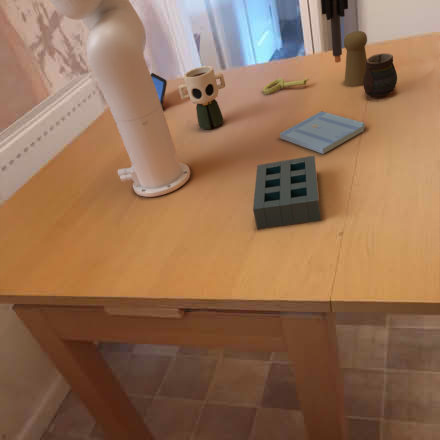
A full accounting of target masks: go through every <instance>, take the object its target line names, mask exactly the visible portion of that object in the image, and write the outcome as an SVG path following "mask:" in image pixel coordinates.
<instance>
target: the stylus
mask: <svg viewBox="0 0 440 440" xmlns="http://www.w3.org/2000/svg"><path fill="white" fill-rule="evenodd" d="M330 4H331V19H330V31H331V32H330V33H331V46H332V49H331V50H332V56H333V57H334V63H340V62H341V55H342V54H343V49H342V30H341V29H342V28H341V16H340V12H339V0H330Z"/></svg>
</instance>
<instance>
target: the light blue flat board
mask: <svg viewBox="0 0 440 440" xmlns="http://www.w3.org/2000/svg"><path fill="white" fill-rule="evenodd" d="M365 124H366V123H365V122H363V121H359V120H356V119H352V118H349V117H344V116H341V115H337V114H334V113H330V112H326V111H323V110H322V111H321V110H320V111H319V112H317V113H315V114H313V115H311V116H310V117H308V118H306V119H303V120H302V121H301V122H300V121H299V123H297V124H295V125H293V126H291V127H289V128H287V129H286V130H283V131H282V132H280V133H279V137H280V139H281V140H284V141H286V142H289V143H292V144H295V145H297V146H300V147H302V148H305V149H307V150H310V151H313V152H317V153H319V154H322V155H323V154H324V155H325V154H326V153H328V152H329V151H331V150H333V149H335V148H337V147H338V146H340V145H342V144H344V143H345V142H347V141H348V140H351V139H352V138H354V137H356V136H357V135H359V134H361V133H363V132H364V131H365V128H366V125H365Z"/></svg>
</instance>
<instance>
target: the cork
mask: <svg viewBox="0 0 440 440" xmlns="http://www.w3.org/2000/svg"><path fill="white" fill-rule="evenodd" d="M367 42H368V36H367V34H366V32H364V31H361V30H357V31H356V30H355V31H352V32H350V33H347V35H345V36H344V38H343V46H344V48H345V50H346V54H345V55H346V57H345V71H344V86H347V87H359V86H363V78H364V75H365V72H366V60H367V59H368V58H367V51H366V46H367Z"/></svg>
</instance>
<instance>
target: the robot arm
mask: <svg viewBox="0 0 440 440" xmlns="http://www.w3.org/2000/svg"><path fill="white" fill-rule="evenodd" d="M49 1H50V2H51V4H52V5H53V7H54V8H55V9H56V10H57V11H58V12H59V13H60V14H61V15H63V16H64V17H66V18H68V19H70V20H77V21H79V20H81V21H82V22H83V24H84V25H85V27H86V28H87V29H88V30H89V33H88V35H87V38H86V44H85V51H86V59H87V62H88V66H89V68H90V70H91V72H92V74H93V76H94V78H95V80H96V82H97V84H98V86H99V88H100V90H101V92H102V94H103V96H104V98H105V101H106V103H107V105H108V108H109V110H110V113H111V115H112V118H113V120H114V123H115V125H116V128H117V131H118V132H119V135H120V138H121V140H122V143H123V146H124V149H125V150H126V153H127V155H128V158H129V160H130V163H131V166H130V167H123V168H118V169H117V175H118V178H119V180H120V181H121V182H122V183H124V182H129V181H131V182H133V183H132V188H133V190H134V192H135V193H136V194H137V196H140V197H145V198H151V197H152V198H153V197H160V196H163V195H166V194H169V193H172V192H175V191H176V190H178V189H180V188H181V187H182V186H184V185H185V184H186V183H187V182H188V180H189V179H190V177H191V170H190V167H189V165H188V164H186V163H184V162H180V159H179V156H178V153H177V150H176V146H175V143H174V141H173V137H172V134H171V130H170V128H169V125H168V121H167V119H166V115H165V112H164V110H163V109H162V106H163V105H162V106H161V103H160V100H159V97H158V94H157V91H156V88H155V85H154V82H153V80H152V77H151V72H150V70H149V67H148V65H147V62H146V59H145V53H144V52H145V50H146V49H145V48H146V43H147V33H146V29H145V26H144V24H143V21H142V19H141V18H140V16H139V14H138V12H137V11H136V10H135V8H134V6H133V5H132V3H131V1H130V0H49ZM320 5H321V6H320V8H321V15H325V18H326V21H331V4H330V0H320ZM348 9H349V0H339V12H340V18H344V17H345V10H348Z"/></svg>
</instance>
